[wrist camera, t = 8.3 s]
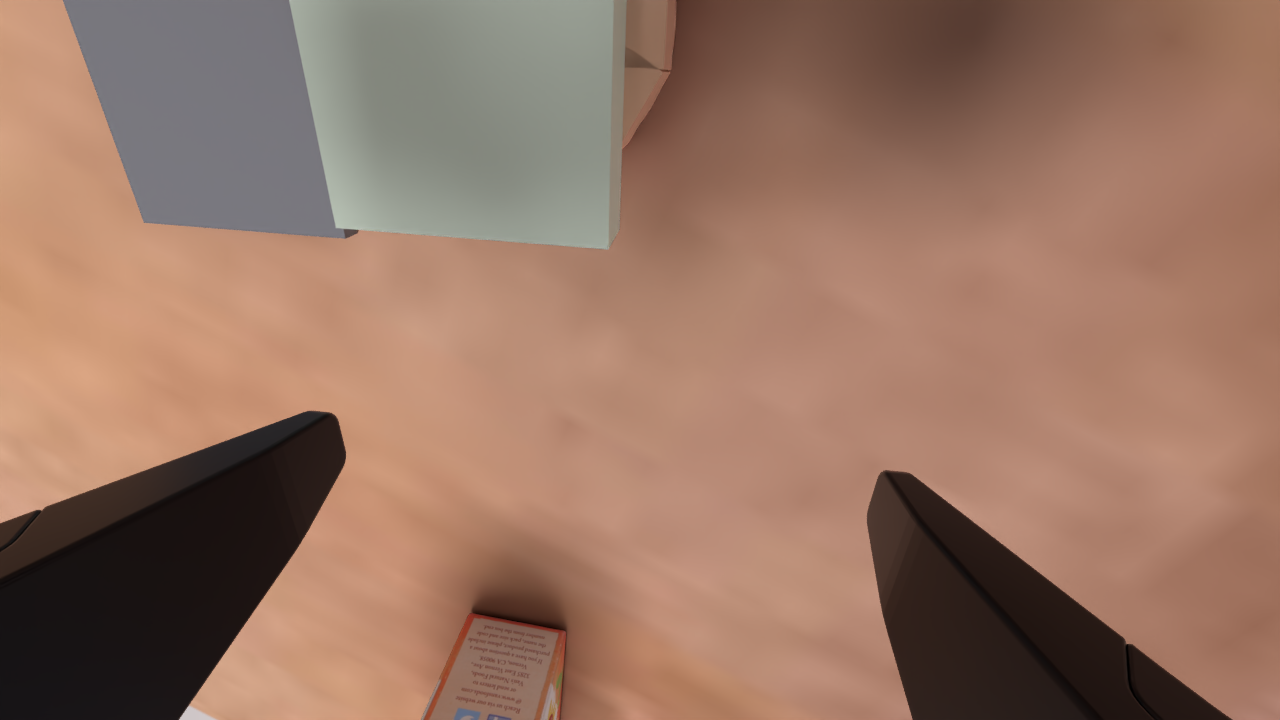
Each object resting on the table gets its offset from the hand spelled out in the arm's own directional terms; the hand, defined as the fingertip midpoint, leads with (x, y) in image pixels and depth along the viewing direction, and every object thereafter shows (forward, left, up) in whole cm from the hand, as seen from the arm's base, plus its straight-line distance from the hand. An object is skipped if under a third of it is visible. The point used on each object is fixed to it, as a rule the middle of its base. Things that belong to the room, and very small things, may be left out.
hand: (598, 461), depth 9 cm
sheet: (+5, -7, -8) cm, 12 cm away
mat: (+16, -5, -12) cm, 21 cm away
